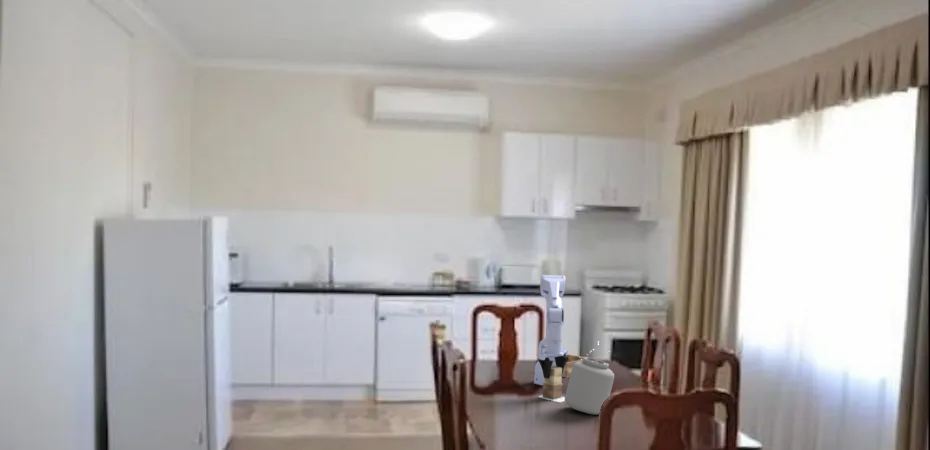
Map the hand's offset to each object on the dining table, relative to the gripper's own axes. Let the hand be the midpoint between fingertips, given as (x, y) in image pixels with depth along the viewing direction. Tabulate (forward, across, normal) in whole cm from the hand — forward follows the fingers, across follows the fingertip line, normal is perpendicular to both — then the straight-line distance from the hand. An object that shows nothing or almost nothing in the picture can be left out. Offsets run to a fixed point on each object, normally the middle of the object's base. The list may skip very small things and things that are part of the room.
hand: (552, 376), depth 278 cm
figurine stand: (+8, +38, +22) cm, 45 cm away
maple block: (+3, 0, 0) cm, 3 cm away
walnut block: (+8, 0, 0) cm, 8 cm away
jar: (+8, -4, -21) cm, 23 cm away
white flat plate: (+8, 0, -1) cm, 8 cm away
